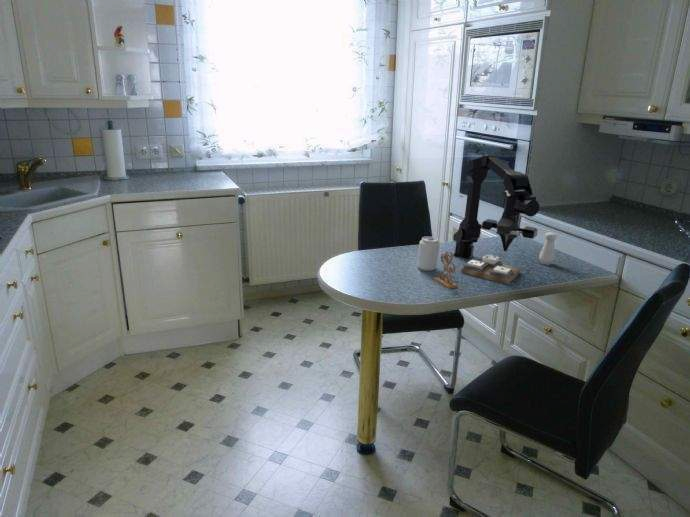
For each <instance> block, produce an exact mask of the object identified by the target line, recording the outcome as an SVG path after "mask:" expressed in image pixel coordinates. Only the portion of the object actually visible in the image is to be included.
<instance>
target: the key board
mask: <svg viewBox="0 0 690 517" xmlns="http://www.w3.org/2000/svg"><path fill="white" fill-rule="evenodd" d="M471 260H476V261H480V262H482V258H478V257H474V258H473V259H469V260H468V261H467V262H465V263H464V264H463V266H461V270H460V273H462V274H464V275H465V274H466V275H470V276H474V277H478V278H481V279H486V280H490V281H493V282H497V283H500V282H501V284H505V285H509V284H510V283H511V282H512V281H514V279H516V278H517V277H518V275H520V274H519V273H521V268H519V267H516V266H512V265H507V264H504V263H502V260H499V261H498V262H497V263H496V264H490V263H486V262H484V263H485V265H484V266H483V267H481V268H478V267H474V266H470V265H467V263H468V262H470V261H471ZM497 266H501V267H505V268H509V269H511V271H510V273H509V274H503V273H499V272H495V271H493V269H494V268H495V267H497Z"/></svg>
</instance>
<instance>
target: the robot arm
mask: <svg viewBox="0 0 690 517" xmlns="http://www.w3.org/2000/svg"><path fill="white" fill-rule="evenodd" d="M489 171H492V173H494V174H495V175H496V176H497V177H498V178H500V179H501V180H502V185H503V186H504V188H505V189H506V190H504V191H503V192H502V195H504V196H505V201H504V206H503V207H504V208H503V212H502V214H501V216H500V219H499V220H496V219H490V218H487V219H485V220H483V221H482V223H480V222H479V221H478V215H479V207H480V200H481V192H482V185H483V184H484V181H485V180H486V179H487V177H488V174H489V173H488V172H489ZM465 176H466V179H467V181H468V188H467V197H466V204H465V210H464V211H465V212H464V218H463V219H462V221H461V222H459V227H458V230H457V231H455V233H454V234H453V235H452V237H453V241H454V242H456V243H455V250H454V253H452V255H453V257H454V256H455V257H458V258H463V259H466V260H467V259H470V258H471V257H473V255H474V249H475V246H474V243H478V241H479V238H480V235H481V234H482V232H481V230H486V231H489V230H492V229H496V234H497V235H499V237H500V239H501V244H502V248H503V252H508V250H509V248H510V246H511V245H512V243H513V241H514V240H515V239H516V238H518V237H519V236H522V237H523V238H526V239H530V240H533V239H535V238H536V237H537V236H538V229H537V227H533V226H527V225H526V226H525V227H524V228H522V227H519V226H520V218H521V215H525V216H526V217H531V218H532V217H535V216H536V215H537V214H538V212H539V211H540V204H539V201H537V197H536V196H535V195H534V194H533V189H532V186H531V183H530V182H531V181H530V180H529V176H528V175H527V174H525V173H523V172H520V171H516V170H514V169H513V168H511V167H510V166H509V165H507V164H506V163H505V162H503V160H501V159H500V158H498V155H496V154H484V155H482V156H480V157H478V158H474V159H472V160H469V161H467V163H466V165H465Z"/></svg>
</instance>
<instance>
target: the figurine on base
mask: <svg viewBox="0 0 690 517" xmlns="http://www.w3.org/2000/svg"><path fill="white" fill-rule="evenodd" d="M453 260H454V255H453V253H452V252H451V251H446V252H445V253H442V254H441V255H440V261H441V263H442V264H443V265H444V266H443V270H442V272H441V273H440V275H439V276H436V277H434V278H433V281H435V282H436V283H437V284H439V285H442V286H443V287H445V288H446V289H450V290H451V289H456V288H458V284H456V283H455V282H453V278H452V274H455V273H456V266H455V264H454V263H453V262H452V261H453ZM450 265H451V266H450ZM445 272H446V273H445ZM444 273H445V274H444Z"/></svg>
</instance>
